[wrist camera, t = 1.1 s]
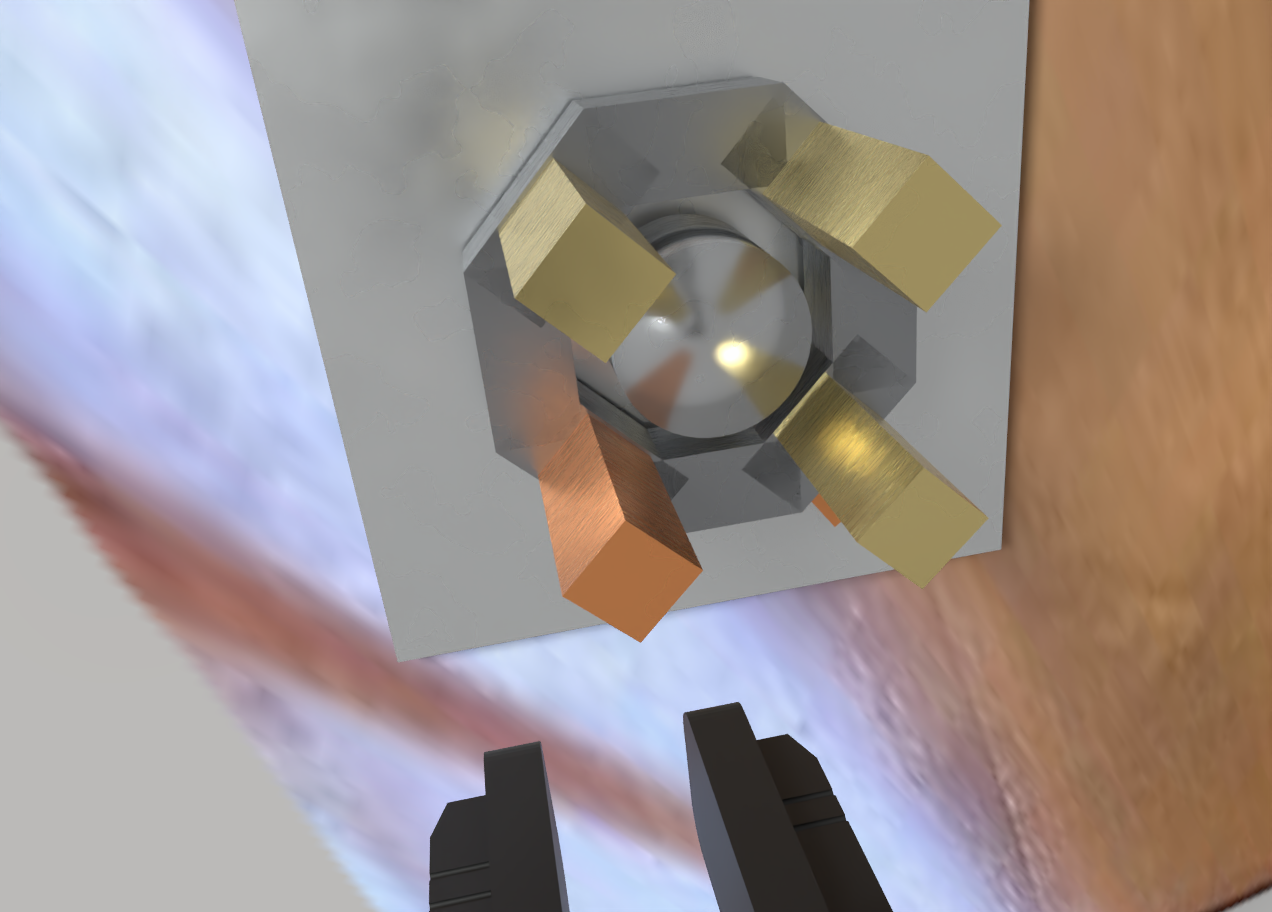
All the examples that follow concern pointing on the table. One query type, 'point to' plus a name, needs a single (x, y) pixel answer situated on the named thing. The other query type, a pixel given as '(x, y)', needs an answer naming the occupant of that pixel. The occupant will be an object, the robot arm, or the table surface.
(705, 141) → the octagonal frame
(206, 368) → the table surface
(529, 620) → the base plate
